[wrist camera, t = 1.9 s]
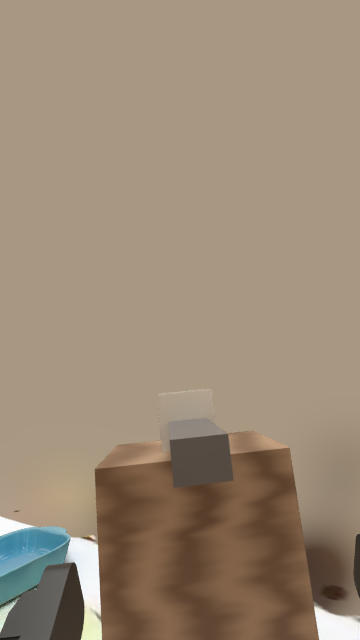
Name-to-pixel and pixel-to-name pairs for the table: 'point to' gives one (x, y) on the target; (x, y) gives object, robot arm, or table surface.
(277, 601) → the stand
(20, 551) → the casserole dish
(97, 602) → the table surface
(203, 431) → the plug
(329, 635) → the table surface
